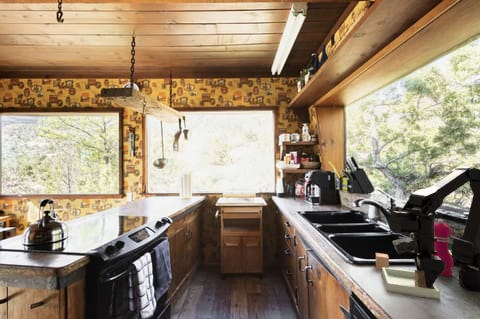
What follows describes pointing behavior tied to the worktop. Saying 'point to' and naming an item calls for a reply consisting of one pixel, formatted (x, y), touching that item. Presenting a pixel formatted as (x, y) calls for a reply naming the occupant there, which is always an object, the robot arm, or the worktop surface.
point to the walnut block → (420, 279)
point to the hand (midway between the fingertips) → (424, 280)
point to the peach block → (382, 261)
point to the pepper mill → (443, 246)
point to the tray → (407, 284)
